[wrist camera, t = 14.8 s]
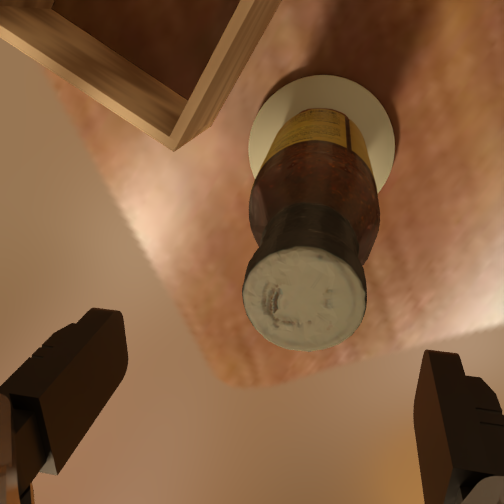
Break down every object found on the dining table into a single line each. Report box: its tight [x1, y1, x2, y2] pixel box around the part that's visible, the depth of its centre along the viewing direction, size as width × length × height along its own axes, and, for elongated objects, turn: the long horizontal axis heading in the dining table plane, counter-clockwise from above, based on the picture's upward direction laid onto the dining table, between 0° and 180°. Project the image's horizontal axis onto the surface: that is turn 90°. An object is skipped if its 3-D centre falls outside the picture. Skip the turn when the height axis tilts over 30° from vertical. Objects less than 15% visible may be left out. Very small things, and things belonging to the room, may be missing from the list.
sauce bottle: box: [242, 108, 380, 352], centre depth 24 cm, size 7×6×20 cm
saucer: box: [248, 75, 395, 193], centre depth 33 cm, size 10×10×1 cm
